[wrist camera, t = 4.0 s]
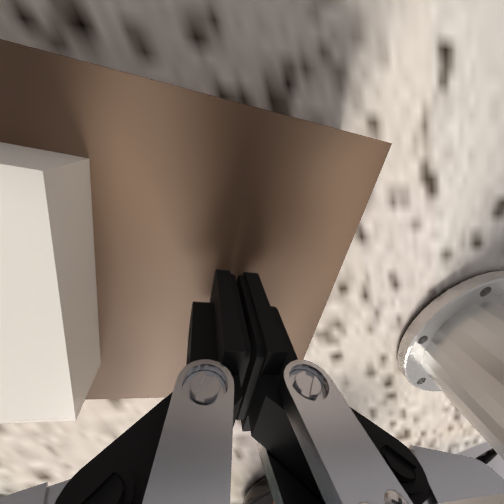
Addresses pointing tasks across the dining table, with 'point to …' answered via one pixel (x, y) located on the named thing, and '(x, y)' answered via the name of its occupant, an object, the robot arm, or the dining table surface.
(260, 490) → the supplement container
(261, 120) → the deck
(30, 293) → the white rectangular block
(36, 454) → the dining table surface
